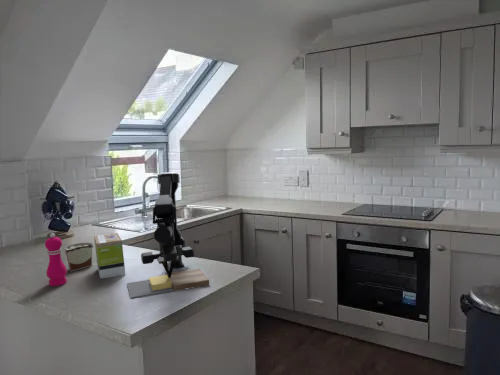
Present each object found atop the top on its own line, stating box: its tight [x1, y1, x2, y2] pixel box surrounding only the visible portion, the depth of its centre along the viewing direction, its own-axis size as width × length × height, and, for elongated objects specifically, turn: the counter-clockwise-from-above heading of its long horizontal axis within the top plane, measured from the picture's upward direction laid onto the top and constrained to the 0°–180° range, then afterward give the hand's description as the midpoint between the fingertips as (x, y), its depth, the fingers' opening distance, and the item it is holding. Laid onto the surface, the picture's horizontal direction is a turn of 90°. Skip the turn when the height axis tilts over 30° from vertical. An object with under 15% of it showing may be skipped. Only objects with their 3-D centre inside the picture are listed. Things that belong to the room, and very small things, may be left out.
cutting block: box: [170, 267, 210, 292], centre depth 164 cm, size 15×13×2 cm
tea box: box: [93, 232, 126, 279], centre depth 180 cm, size 15×10×15 cm
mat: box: [126, 279, 175, 300], centre depth 159 cm, size 16×15×1 cm
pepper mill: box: [44, 232, 68, 287], centre depth 168 cm, size 7×7×20 cm
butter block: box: [148, 274, 172, 290], centre depth 160 cm, size 9×7×2 cm
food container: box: [63, 242, 94, 272], centre depth 189 cm, size 12×6×10 cm, turn 134°
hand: (169, 277), depth 161 cm, fingers closed
